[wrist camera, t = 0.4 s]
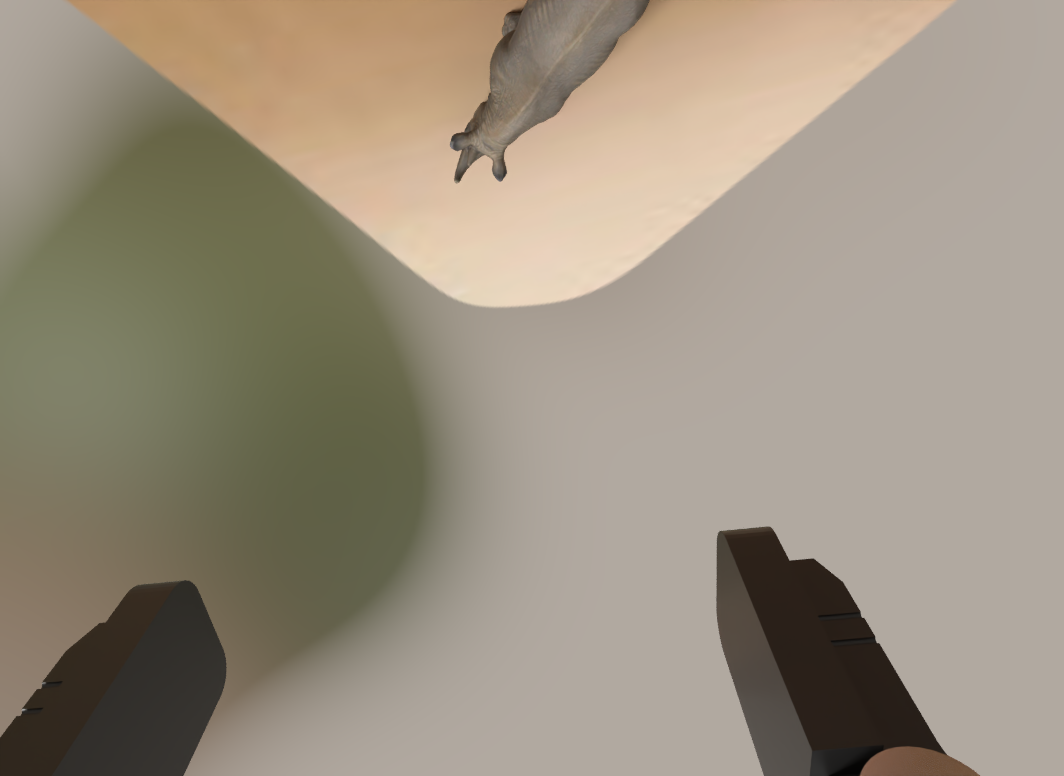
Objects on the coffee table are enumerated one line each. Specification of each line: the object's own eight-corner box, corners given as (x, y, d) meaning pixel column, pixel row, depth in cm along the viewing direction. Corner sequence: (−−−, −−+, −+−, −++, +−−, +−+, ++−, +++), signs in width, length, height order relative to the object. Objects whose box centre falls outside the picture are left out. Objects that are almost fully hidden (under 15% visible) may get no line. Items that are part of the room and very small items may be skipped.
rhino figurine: (418, 129, 36) (413, 186, 32) (594, -126, 29) (617, -96, 25) (482, 173, 38) (485, 232, 34) (662, -56, 31) (693, -19, 27)
